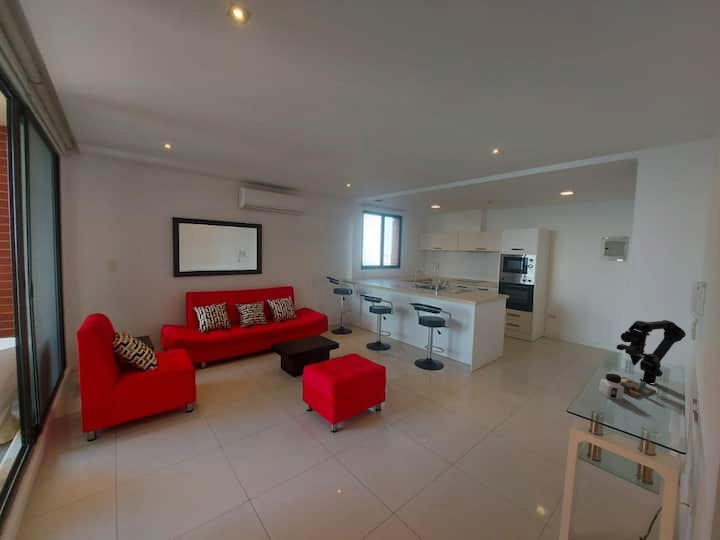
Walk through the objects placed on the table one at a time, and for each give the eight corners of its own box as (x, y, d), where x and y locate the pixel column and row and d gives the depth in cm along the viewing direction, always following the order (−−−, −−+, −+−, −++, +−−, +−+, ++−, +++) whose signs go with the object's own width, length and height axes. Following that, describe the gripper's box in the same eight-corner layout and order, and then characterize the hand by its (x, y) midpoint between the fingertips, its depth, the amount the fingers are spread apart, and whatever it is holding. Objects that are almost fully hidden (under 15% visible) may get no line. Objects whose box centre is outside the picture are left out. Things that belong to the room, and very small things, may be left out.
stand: (624, 378, 189) (625, 370, 188) (655, 392, 174) (657, 383, 173) (604, 383, 182) (605, 374, 181) (635, 398, 167) (637, 388, 166)
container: (622, 400, 165) (626, 379, 163) (606, 398, 166) (610, 377, 164) (613, 392, 172) (617, 372, 170) (598, 390, 174) (602, 370, 172)
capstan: (611, 380, 182) (613, 371, 181) (626, 380, 184) (628, 370, 183) (635, 394, 168) (637, 383, 167) (651, 393, 170) (653, 383, 169)
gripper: (613, 337, 185) (608, 360, 188) (650, 349, 168) (644, 374, 170) (624, 335, 189) (619, 357, 191) (661, 347, 172) (656, 371, 174)
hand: (634, 365), depth 182 cm, fingers closed
